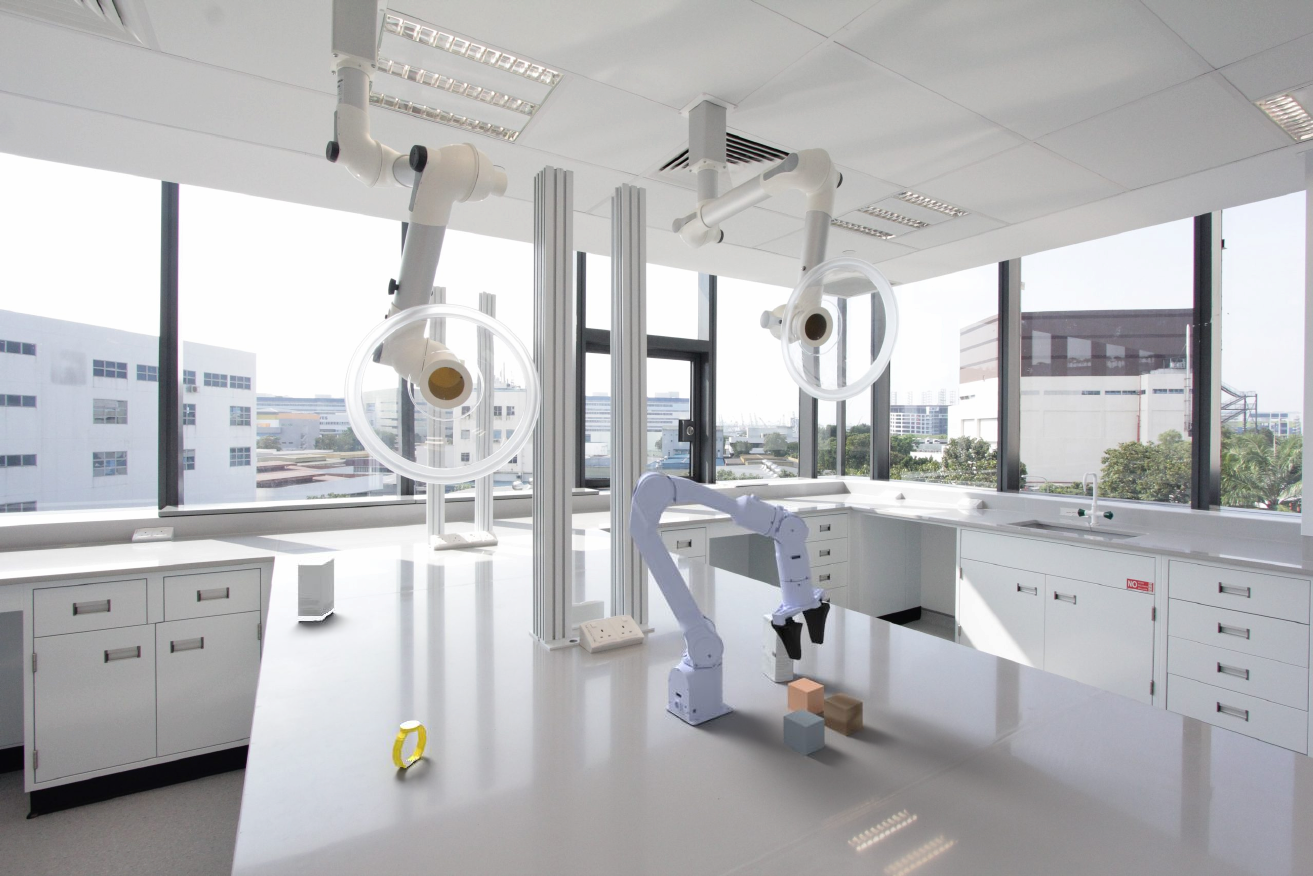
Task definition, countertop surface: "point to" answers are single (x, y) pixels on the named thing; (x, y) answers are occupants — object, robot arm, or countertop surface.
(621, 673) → the countertop surface
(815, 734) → the slate block
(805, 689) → the terracotta block
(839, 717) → the walnut block
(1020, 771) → the countertop surface
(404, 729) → the watch
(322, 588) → the skincare box
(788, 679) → the skincare box
